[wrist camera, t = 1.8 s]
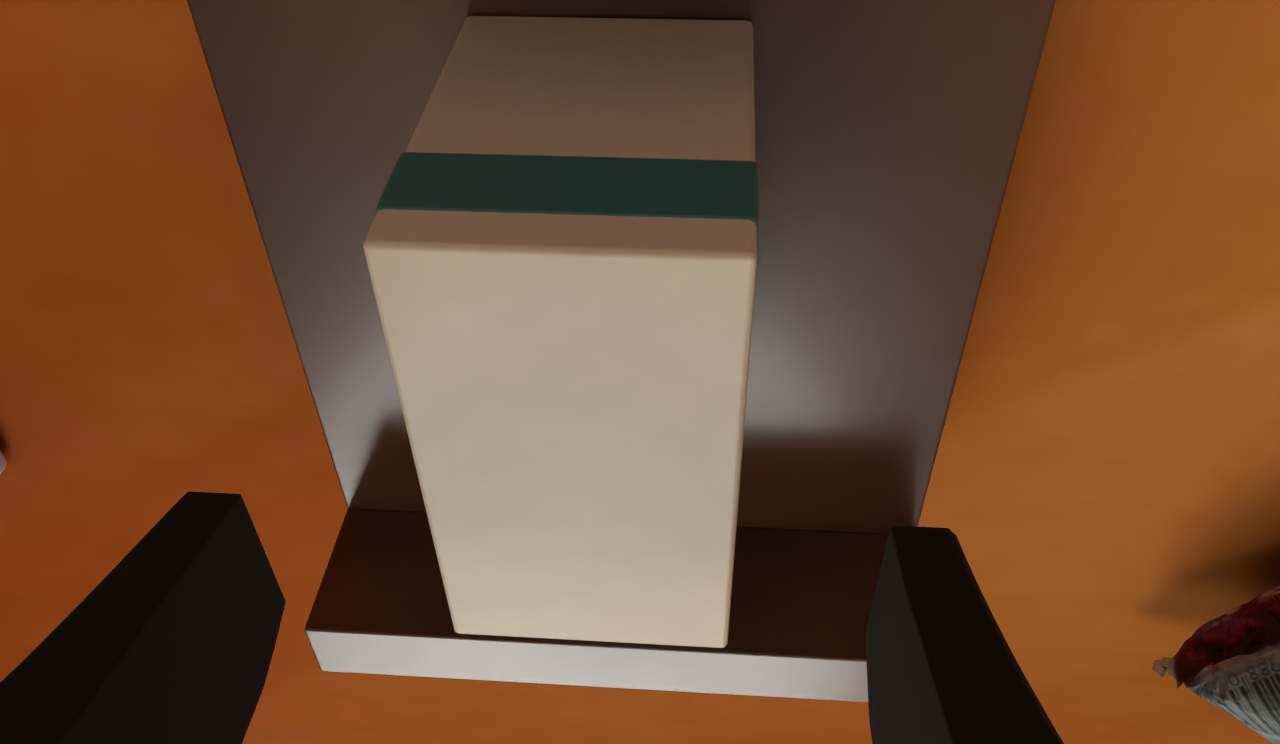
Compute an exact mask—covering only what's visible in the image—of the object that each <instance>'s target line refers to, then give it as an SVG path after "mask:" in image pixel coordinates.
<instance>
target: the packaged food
mask: <svg viewBox="0 0 1280 744" xmlns="http://www.w3.org/2000/svg"><path fill="white" fill-rule="evenodd" d="M1154 661H1155V663H1154V665H1153V668H1152V669H1153V670H1155V671H1156V672H1157V673H1158V674H1159V675H1160V676H1161V677H1163V676H1164V675H1165V674H1167V673H1169V674H1170V675H1172V676H1173V677H1174V678H1175V679H1176V680H1177V688H1178V687H1179V686H1180V685H1181V684H1182V683H1183V684H1184V685H1185V686H1186V688H1189V689H1190V690H1191V691H1192V692H1194V693H1195V694H1197V695H1199V696H1200V697H1202V698H1204V699H1205V700H1207V701H1208V702H1210V703H1212V704H1213V705H1215V706H1217V707H1218V708H1220V709H1222V710H1223V711H1225V712H1227V713H1229V714H1230V715H1232V716H1234V717H1235V718H1236V719H1238V720H1239V721H1241V722H1242V723H1243V724H1245V725H1246V726H1248V727H1249V728H1251V729H1252V730H1254V731H1256V732H1257V733H1259V734H1260V735H1261V736H1263V737H1264V738H1266V739H1267V740H1269V741H1270V742H1272V743H1274V744H1280V585H1279V586H1277V587H1275V588H1273V589H1271V590H1269V591H1267V592H1265V593H1263V594H1261V595H1260V596H1258V597H1256V598H1255V599H1253V600H1252V601H1250V602H1249V603H1246V604H1243V605H1241V606H1238V607H1236V608H1234V609H1232V610H1230V611H1229V612H1227V613H1225V614H1224V615H1222V616H1220V617H1218V618H1216V619H1213V620H1210V621H1208V622H1206V623H1205V624H1204V625H1202V626H1201V627H1199V628H1198V629H1197V630H1196V631H1195V633H1194V634H1193V635H1192V636H1191V637H1190V638H1189V639H1188V640H1186V641H1185V642H1184V644H1183V645H1182V647H1181V648H1180V650H1179V651H1178V653H1177V654H1176V655H1175V656H1174V657H1173V658H1171V659H1170V658H1163V659H1161V660H1154Z"/></svg>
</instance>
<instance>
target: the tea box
mask: <svg viewBox="0 0 1280 744" xmlns="http://www.w3.org/2000/svg"><path fill="white" fill-rule="evenodd" d="M375 211H376V216H375V219H374V221H373V223H372V225H371V227H370V229H369V232H368V234H367V236H366V238H365V240H364V244H363V247H364V252H365V256H366V260H367V264H368V268H369V273H370V277H371V281H372V285H373V290H374V294H375V298H376V302H377V306H378V311H379V315H380V319H381V323H382V327H383V332H384V336H385V340H386V344H387V348H388V353H389V357H390V361H391V365H392V369H393V374H394V378H395V382H396V386H397V390H398V395H399V399H400V403H401V407H402V412H403V416H404V420H405V424H406V428H407V433H408V437H409V441H410V445H411V449H412V454H413V458H414V462H415V466H416V470H417V475H418V479H419V483H420V487H421V491H422V496H423V500H424V504H425V508H426V513H427V517H428V521H429V525H430V529H431V534H432V538H433V542H434V546H435V550H436V555H437V559H438V563H439V567H440V571H441V576H442V580H443V584H444V588H445V592H446V597H447V601H448V605H449V609H450V614H451V618H452V622H453V626H454V630H455V632H456V633H459V634H476V635H494V636H512V637H531V638H549V639H567V640H586V641H604V642H622V643H641V644H659V645H677V646H695V647H714V648H723V647H725V646H726V645H727V643H728V632H729V619H730V606H731V593H732V580H733V567H734V554H735V541H736V528H737V515H738V502H739V489H740V476H741V463H742V450H743V437H744V424H745V411H746V398H747V385H748V372H749V359H750V346H751V333H752V320H753V307H754V294H755V281H756V268H757V238H758V225H759V210H758V167H757V165H756V163H755V111H754V58H753V26H752V23H751V22H750V21H745V20H686V19H627V18H568V17H510V16H469V17H467V18H466V20H465V22H464V24H463V26H462V28H461V31H460V33H459V35H458V37H457V39H456V41H455V44H454V46H453V48H452V50H451V52H450V55H449V57H448V59H447V61H446V63H445V66H444V68H443V70H442V72H441V74H440V76H439V79H438V81H437V83H436V85H435V87H434V90H433V92H432V94H431V96H430V98H429V100H428V103H427V105H426V107H425V109H424V111H423V114H422V116H421V118H420V120H419V122H418V125H417V127H416V129H415V131H414V133H413V135H412V138H411V140H410V142H409V144H408V146H407V149H406V151H405V152H404V153H402V154H401V155H400V157H399V159H398V161H397V163H396V165H395V168H394V170H393V172H392V174H391V176H390V178H389V181H388V183H387V185H386V187H385V189H384V191H383V194H382V196H381V198H380V200H379V202H378V204H377V207H376V210H375Z"/></svg>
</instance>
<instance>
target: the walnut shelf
mask: <svg viewBox="0 0 1280 744" xmlns="http://www.w3.org/2000/svg"><path fill="white" fill-rule="evenodd" d="M187 2H188V5H189V8H190V11H191V14H192V17H193V21H194V24H195V27H196V30H197V33H198V36H199V40H200V43H201V46H202V49H203V52H204V55H205V59H206V62H207V65H208V68H209V71H210V74H211V78H212V81H213V84H214V87H215V90H216V93H217V97H218V100H219V103H220V106H221V109H222V112H223V116H224V119H225V122H226V125H227V128H228V131H229V135H230V138H231V141H232V144H233V147H234V150H235V153H236V157H237V160H238V163H239V166H240V169H241V172H242V176H243V179H244V182H245V185H246V188H247V191H248V195H249V198H250V201H251V204H252V207H253V210H254V214H255V217H256V220H257V223H258V226H259V229H260V233H261V236H262V239H263V242H264V245H265V248H266V252H267V255H268V258H269V261H270V264H271V267H272V271H273V274H274V277H275V280H276V283H277V286H278V290H279V293H280V296H281V299H282V302H283V305H284V309H285V312H286V315H287V318H288V321H289V324H290V328H291V331H292V334H293V337H294V340H295V343H296V347H297V350H298V353H299V356H300V359H301V362H302V366H303V369H304V372H305V375H306V378H307V381H308V384H309V388H310V391H311V394H312V397H313V400H314V403H315V407H316V410H317V413H318V416H319V419H320V422H321V426H322V429H323V432H324V435H325V438H326V441H327V445H328V448H329V451H330V454H331V457H332V460H333V464H334V467H335V470H336V473H337V476H338V479H339V483H340V486H341V489H342V492H343V495H344V498H345V502H346V505H347V507H348V510H347V513H346V515H345V518H344V521H343V524H342V527H341V529H340V532H339V535H338V538H337V540H336V543H335V546H334V549H333V552H332V554H331V557H330V560H329V563H328V565H327V568H326V571H325V574H324V577H323V579H322V582H321V585H320V588H319V590H318V593H317V596H316V599H315V602H314V604H313V607H312V610H311V613H310V615H309V618H308V621H307V624H306V627H305V632H306V635H307V637H308V640H309V642H310V645H311V647H312V650H313V652H314V654H315V657H316V659H317V662H318V664H319V667H320V669H321V670H322V671H331V672H348V673H366V674H383V675H400V676H418V677H435V678H453V679H470V680H488V681H505V682H522V683H540V684H557V685H575V686H592V687H609V688H627V689H644V690H662V691H679V692H697V693H714V694H731V695H749V696H766V697H784V698H801V699H819V700H836V701H853V702H868V684H867V661H866V638H865V633H866V628H867V624H868V620H869V616H870V611H871V607H872V603H873V599H874V594H875V590H876V586H877V582H878V577H879V573H880V569H881V565H882V560H883V556H884V552H885V547H886V543H887V539H888V535H889V530H890V526H911V527H917V526H918V523H919V519H920V515H921V511H922V507H923V504H924V500H925V496H926V492H927V488H928V485H929V481H930V477H931V473H932V469H933V465H934V462H935V458H936V454H937V450H938V446H939V443H940V439H941V435H942V431H943V427H944V424H945V420H946V416H947V412H948V408H949V404H950V401H951V397H952V393H953V389H954V385H955V382H956V378H957V374H958V370H959V366H960V363H961V359H962V355H963V351H964V347H965V343H966V340H967V336H968V332H969V328H970V324H971V321H972V317H973V313H974V309H975V305H976V302H977V298H978V294H979V290H980V286H981V282H982V279H983V275H984V271H985V267H986V263H987V260H988V256H989V252H990V248H991V244H992V241H993V237H994V233H995V229H996V225H997V221H998V218H999V214H1000V210H1001V206H1002V202H1003V199H1004V195H1005V191H1006V187H1007V183H1008V180H1009V176H1010V172H1011V168H1012V164H1013V160H1014V157H1015V153H1016V149H1017V145H1018V141H1019V138H1020V134H1021V130H1022V126H1023V122H1024V119H1025V115H1026V111H1027V107H1028V103H1029V99H1030V96H1031V92H1032V88H1033V84H1034V80H1035V77H1036V73H1037V69H1038V65H1039V61H1040V58H1041V54H1042V50H1043V46H1044V42H1045V38H1046V35H1047V31H1048V27H1049V23H1050V19H1051V16H1052V12H1053V8H1054V4H1055V0H187ZM469 16H510V17H568V18H627V19H686V20H745V21H750V22H751V23H752V26H753V58H754V111H755V163H756V165H757V167H758V210H759V225H758V238H757V268H756V281H755V294H754V307H753V320H752V333H751V346H750V359H749V372H748V385H747V398H746V411H745V424H744V437H743V450H742V463H741V476H740V489H739V502H738V515H737V528H736V541H735V554H734V567H733V580H732V593H731V606H730V619H729V632H728V643H727V645H726V646H725V647H723V648H714V647H695V646H677V645H659V644H641V643H622V642H604V641H586V640H567V639H549V638H531V637H512V636H494V635H476V634H459V633H456V632H455V630H454V626H453V622H452V618H451V614H450V609H449V605H448V601H447V597H446V592H445V588H444V584H443V580H442V576H441V571H440V567H439V563H438V559H437V555H436V550H435V546H434V542H433V538H432V534H431V529H430V525H429V521H428V517H427V513H426V508H425V504H424V500H423V496H422V491H421V487H420V483H419V479H418V475H417V470H416V466H415V462H414V458H413V454H412V449H411V445H410V441H409V437H408V433H407V428H406V424H405V420H404V416H403V412H402V407H401V403H400V399H399V395H398V390H397V386H396V382H395V378H394V374H393V369H392V365H391V361H390V357H389V353H388V348H387V344H386V340H385V336H384V332H383V327H382V323H381V319H380V315H379V311H378V306H377V302H376V298H375V294H374V290H373V285H372V281H371V277H370V273H369V268H368V264H367V260H366V256H365V252H364V247H363V244H364V240H365V238H366V236H367V234H368V232H369V229H370V227H371V225H372V223H373V221H374V219H375V216H376V211H375V210H376V207H377V204H378V202H379V200H380V198H381V196H382V194H383V191H384V189H385V187H386V185H387V183H388V181H389V178H390V176H391V174H392V172H393V170H394V168H395V165H396V163H397V161H398V159H399V157H400V155H401V154H402V153H404V152H405V151H406V149H407V146H408V144H409V142H410V140H411V138H412V135H413V133H414V131H415V129H416V127H417V125H418V122H419V120H420V118H421V116H422V114H423V111H424V109H425V107H426V105H427V103H428V100H429V98H430V96H431V94H432V92H433V90H434V87H435V85H436V83H437V81H438V79H439V76H440V74H441V72H442V70H443V68H444V66H445V63H446V61H447V59H448V57H449V55H450V52H451V50H452V48H453V46H454V44H455V41H456V39H457V37H458V35H459V33H460V31H461V28H462V26H463V24H464V22H465V20H466V18H467V17H469Z"/></svg>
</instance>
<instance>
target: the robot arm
mask: <svg viewBox="0 0 1280 744" xmlns="http://www.w3.org/2000/svg"><path fill="white" fill-rule="evenodd" d="M6 464H7V462H6V460H5V457H4V456H3V454H2V452H1V451H0V474H1V473H2V471H3V470H4V469H5V467H6ZM284 606H285V599H284V597H283V594H282V592H281V590H280V587H279V585H278V582H277V580H276V578H275V575H274V573H273V571H272V568H271V566H270V563H269V561H268V559H267V556H266V554H265V551H264V549H263V547H262V544H261V542H260V539H259V537H258V535H257V532H256V530H255V527H254V525H253V523H252V520H251V518H250V516H249V513H248V511H247V508H246V506H245V504H244V501H243V499H242V496H241V494H225V493H205V492H187V493H186V494H185V495H184V496H183V497H182V498H181V499H180V500H179V501H178V502H177V503H176V504H175V505H174V506H173V507H172V508H171V509H170V510H169V511H168V512H167V513H166V514H165V515H164V517H163V518H162V519H161V520H160V521H159V522H158V523H157V524H156V525H155V526H154V527H153V528H152V529H151V530H150V531H149V532H148V533H147V534H146V535H145V536H144V537H143V539H142V540H141V541H140V542H139V543H138V544H137V545H136V546H135V547H134V548H133V549H132V550H131V551H130V552H129V553H128V554H127V555H126V556H125V558H124V559H123V560H122V561H121V562H120V563H119V564H118V565H117V566H116V567H115V568H114V569H113V570H112V571H111V572H110V573H109V574H108V575H107V576H106V577H105V578H104V579H103V581H102V582H101V583H100V584H99V585H98V586H97V587H96V588H95V589H94V590H93V591H92V592H91V593H90V594H89V595H88V596H87V597H86V598H85V599H84V600H83V601H82V602H81V603H80V604H79V605H78V606H77V607H76V608H75V609H74V610H73V611H72V612H71V613H70V614H69V615H68V616H67V617H66V618H65V619H64V620H63V621H62V622H61V623H60V624H59V625H58V627H57V628H56V629H55V630H54V631H53V632H52V633H51V634H50V635H49V636H48V637H47V638H46V639H45V640H44V641H43V642H42V643H41V644H40V645H39V646H38V647H37V648H36V649H35V650H34V651H33V652H32V653H31V654H30V655H29V656H28V657H27V658H26V659H25V660H24V661H23V662H22V663H21V664H19V665H18V666H17V667H16V668H15V669H14V670H13V671H12V672H11V673H10V674H9V675H8V676H7V677H6V678H5V679H4V680H3V681H2V682H0V744H242V742H243V739H244V736H245V734H246V731H247V729H248V726H249V724H250V721H251V719H252V716H253V714H254V711H255V708H256V706H257V703H258V700H259V698H260V695H261V693H262V690H263V687H264V684H265V680H266V676H267V673H268V669H269V665H270V662H271V658H272V655H273V651H274V647H275V643H276V639H277V635H278V631H279V627H280V623H281V618H282V614H283V610H284ZM865 638H866V661H867V684H868V702H869V719H870V729H871V736H872V742H873V744H1064V743H1063V742H1062V740H1061V738H1060V737H1059V735H1058V733H1057V732H1056V730H1055V728H1054V726H1053V725H1052V723H1051V721H1050V719H1049V718H1048V716H1047V714H1046V712H1045V711H1044V709H1043V707H1042V705H1041V704H1040V702H1039V700H1038V699H1037V697H1036V695H1035V693H1034V692H1033V690H1032V688H1031V686H1030V685H1029V683H1028V681H1027V679H1026V678H1025V676H1024V674H1023V672H1022V670H1021V668H1020V667H1019V665H1018V663H1017V661H1016V659H1015V657H1014V655H1013V654H1012V652H1011V650H1010V648H1009V646H1008V644H1007V642H1006V640H1005V638H1004V636H1003V634H1002V632H1001V630H1000V629H999V627H998V625H997V623H996V621H995V619H994V617H993V615H992V613H991V611H990V609H989V607H988V605H987V603H986V601H985V599H984V596H983V594H982V592H981V590H980V588H979V586H978V584H977V582H976V580H975V577H974V575H973V573H972V571H971V569H970V566H969V564H968V562H967V560H966V557H965V555H964V553H963V551H962V548H961V546H960V543H959V541H958V539H957V536H956V535H955V534H954V533H953V532H952V531H951V530H950V529H949V528H932V527H911V526H890V530H889V535H888V539H887V543H886V547H885V552H884V556H883V560H882V565H881V569H880V573H879V577H878V582H877V586H876V590H875V594H874V599H873V603H872V607H871V611H870V616H869V620H868V624H867V628H866V633H865Z"/></svg>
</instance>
